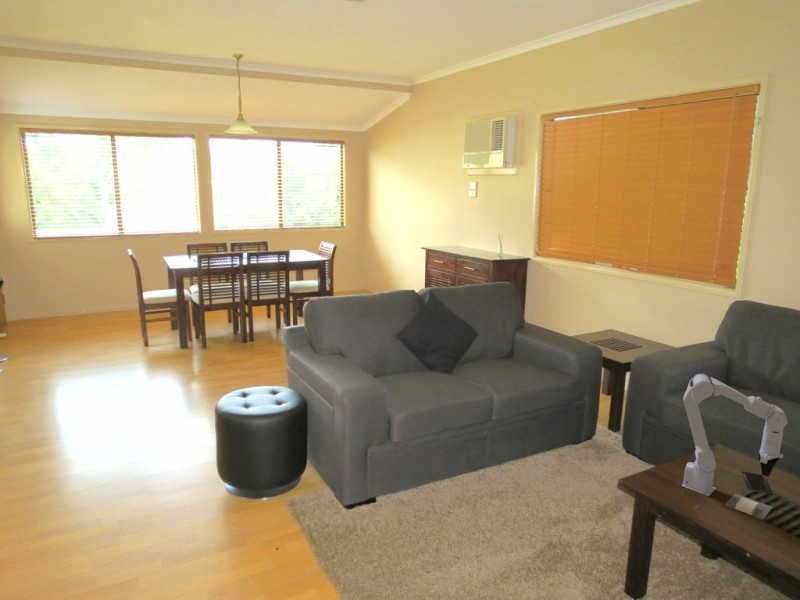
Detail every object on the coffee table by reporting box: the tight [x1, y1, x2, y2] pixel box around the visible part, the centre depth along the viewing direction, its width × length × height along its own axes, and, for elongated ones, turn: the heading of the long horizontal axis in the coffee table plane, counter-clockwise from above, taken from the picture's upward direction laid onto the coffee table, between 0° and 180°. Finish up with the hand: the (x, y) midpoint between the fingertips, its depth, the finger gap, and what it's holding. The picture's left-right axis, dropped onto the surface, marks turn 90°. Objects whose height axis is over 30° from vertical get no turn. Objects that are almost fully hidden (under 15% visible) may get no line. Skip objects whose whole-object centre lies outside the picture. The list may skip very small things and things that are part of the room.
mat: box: [724, 492, 773, 521], centre depth 200 cm, size 12×12×1 cm
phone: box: [740, 470, 773, 495], centre depth 216 cm, size 8×1×15 cm
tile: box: [734, 496, 758, 516], centre depth 198 cm, size 5×2×7 cm
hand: (765, 475), depth 202 cm, fingers closed
